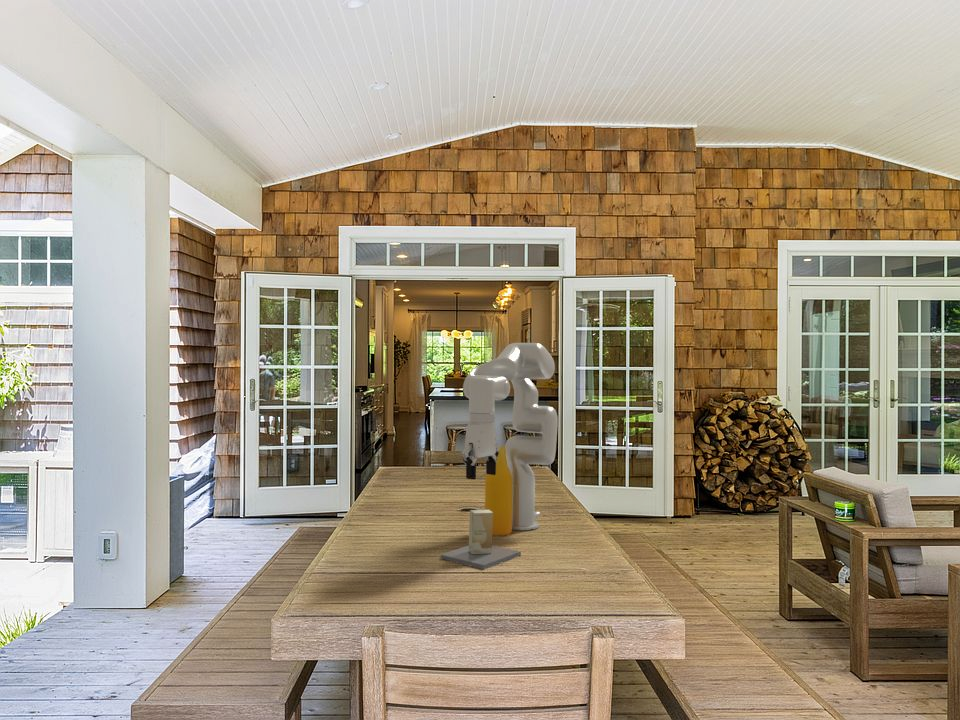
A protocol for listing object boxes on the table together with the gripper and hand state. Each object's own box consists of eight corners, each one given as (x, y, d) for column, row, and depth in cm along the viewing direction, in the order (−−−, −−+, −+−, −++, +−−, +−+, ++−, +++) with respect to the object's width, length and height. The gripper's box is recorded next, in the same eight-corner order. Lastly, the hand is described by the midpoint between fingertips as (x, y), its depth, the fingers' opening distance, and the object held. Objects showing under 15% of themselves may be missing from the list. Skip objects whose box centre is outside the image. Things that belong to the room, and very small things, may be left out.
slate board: (478, 546, 219) (478, 542, 219) (520, 555, 209) (520, 551, 209) (440, 558, 205) (440, 554, 205) (484, 569, 195) (484, 565, 195)
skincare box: (471, 555, 205) (472, 513, 205) (468, 551, 209) (468, 509, 209) (493, 553, 206) (493, 512, 206) (488, 549, 211) (489, 508, 211)
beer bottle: (509, 536, 231) (510, 448, 231) (481, 535, 233) (483, 447, 233) (513, 530, 240) (514, 445, 240) (487, 528, 242) (488, 444, 242)
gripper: (489, 416, 217) (488, 471, 217) (453, 420, 203) (452, 479, 203) (508, 417, 212) (508, 474, 213) (473, 421, 199) (473, 482, 199)
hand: (481, 476), depth 208 cm, fingers open, 9 cm apart
